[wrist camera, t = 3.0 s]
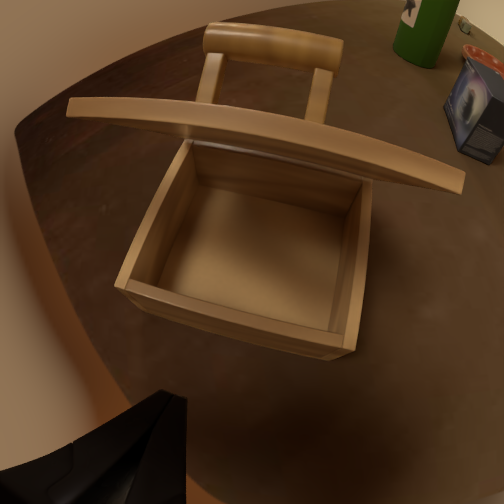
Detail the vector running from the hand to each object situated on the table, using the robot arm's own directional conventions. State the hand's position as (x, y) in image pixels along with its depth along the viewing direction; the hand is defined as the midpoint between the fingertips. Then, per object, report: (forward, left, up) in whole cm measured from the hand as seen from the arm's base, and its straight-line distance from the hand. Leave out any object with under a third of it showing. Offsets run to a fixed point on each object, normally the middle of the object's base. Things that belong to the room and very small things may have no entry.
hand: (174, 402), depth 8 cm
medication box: (+79, -94, -13) cm, 123 cm away
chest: (+10, -5, -13) cm, 17 cm away
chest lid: (+11, -6, -2) cm, 12 cm away
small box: (+23, -39, -13) cm, 47 cm away
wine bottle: (+45, -44, -13) cm, 64 cm away
